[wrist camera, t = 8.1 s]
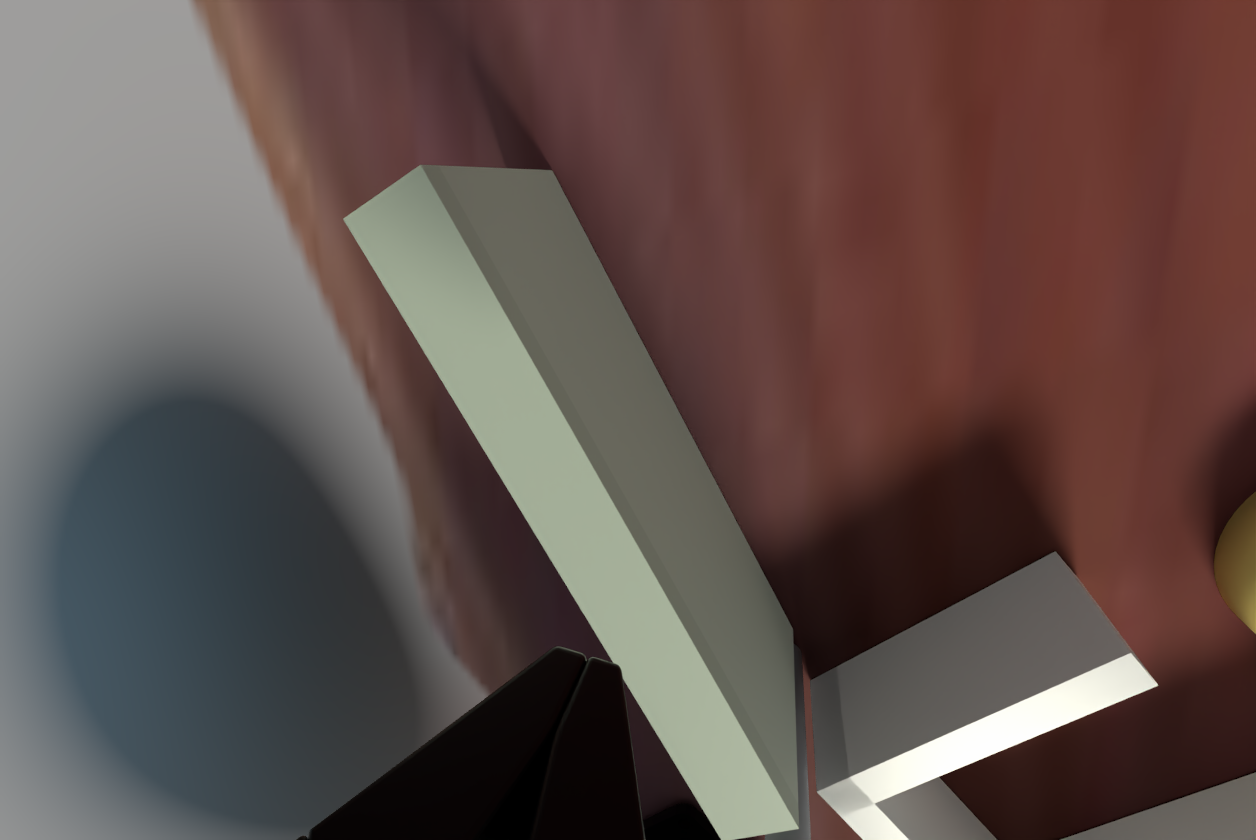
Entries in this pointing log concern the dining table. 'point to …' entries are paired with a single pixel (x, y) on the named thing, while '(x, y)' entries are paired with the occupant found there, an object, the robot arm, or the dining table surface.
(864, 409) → the dining table surface
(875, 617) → the dining table surface
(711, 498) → the cover
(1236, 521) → the cord coil
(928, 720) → the white open pen
